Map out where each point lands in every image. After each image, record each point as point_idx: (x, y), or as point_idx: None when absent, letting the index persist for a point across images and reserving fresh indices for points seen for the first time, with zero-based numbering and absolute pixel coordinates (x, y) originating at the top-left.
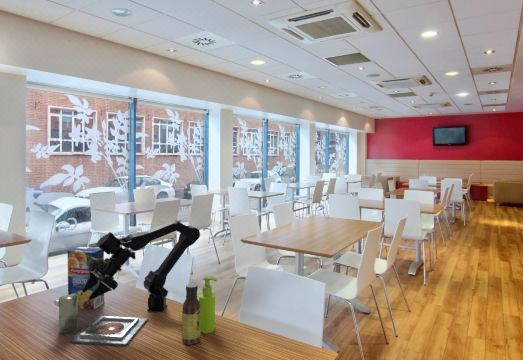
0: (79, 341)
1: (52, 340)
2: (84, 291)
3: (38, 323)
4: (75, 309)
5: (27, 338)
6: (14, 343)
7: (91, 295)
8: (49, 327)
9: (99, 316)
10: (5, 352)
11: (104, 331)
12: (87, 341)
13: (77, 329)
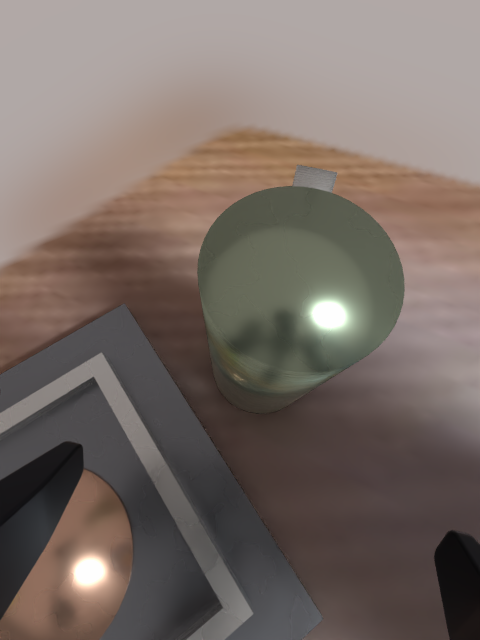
0: (70, 335)
1: None
2: (440, 562)
3: (465, 300)
4: (212, 350)
5: None
6: None
7: (10, 476)
8: None
9: (299, 614)
10: (258, 130)
11: None
12: (26, 360)
13: (231, 402)
